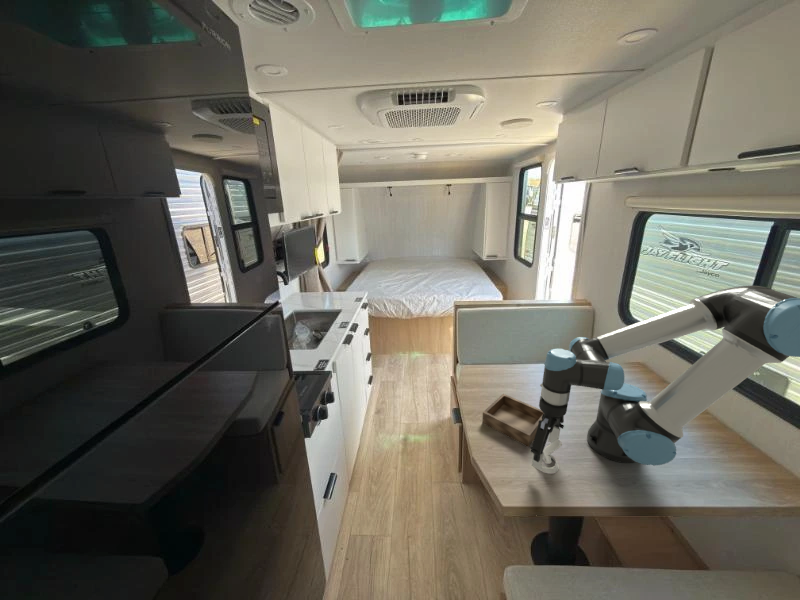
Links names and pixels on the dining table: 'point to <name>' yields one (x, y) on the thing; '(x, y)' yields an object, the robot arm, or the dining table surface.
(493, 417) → the wooden tray
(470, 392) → the dining table surface
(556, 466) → the hook
